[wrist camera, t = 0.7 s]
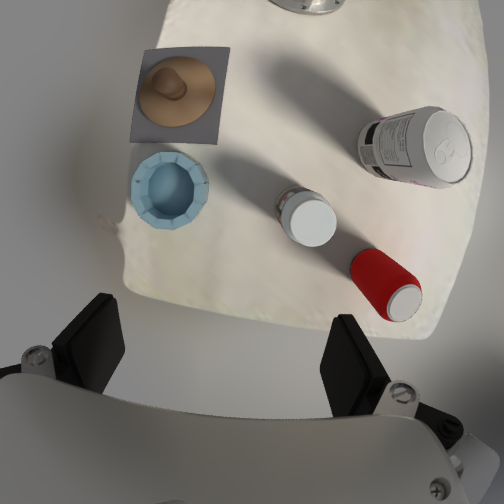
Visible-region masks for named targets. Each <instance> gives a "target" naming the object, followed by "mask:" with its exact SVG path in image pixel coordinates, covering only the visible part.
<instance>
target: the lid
mask: <svg viewBox="0 0 504 504" xmlns="http://www.w3.org/2000/svg"><path fill="white" fill-rule="evenodd" d="M215 90H216V86H215V80H214V77H213V75H212V73H211V71H210V69H209V68H208V67H207V66H206V65H205V64H204V63H203V62H201V61H199V60H197V59H194V58H191V57H175V58H171V59H168V60H166V61H163V62H161V63H160V64H158V65H157V66H156V67H154V68H153V69H152V70H151V71H150V72H149V73H148V75H147V76H146V78H145V79H144V81H143V83H142V86H141V89H140V96H139V98H140V105H141V108H142V110H143V112H144V114H145V115H146V116H147V117H148V118H149V119H150V120H151V121H153V122H154V123H156V124H159V125H161V126H165V127H172V128H174V127H182V126H186V125H188V124H191V123H193V122H195V121H196V120H198V119H199V118H200V117H202V116H203V115H204V114H205V113H206V111H207V110H208V109H209V107H210V106H211V104H212V102H213V99H214V96H215Z"/></svg>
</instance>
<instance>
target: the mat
mask: <svg viewBox="0 0 504 504" xmlns="http://www.w3.org/2000/svg"><path fill="white" fill-rule="evenodd" d="M229 53H230V47H178V48H163V49H152V50H145V52H144V56H143V61H142V65H141V70H140V75H139V80H138V86H137V91H136V97H135V104H134V111H133V118H132V126H131V135H130V143H134V142H167V143H196V144H214V145H217V140H218V132H219V123H220V115H221V107H222V100H223V93H224V85H225V78H226V72H227V65H228V59H229ZM175 57H191V58H194V59H197V60H199V61H201V62H203V63H204V64H205V65H206V66H207V67H208V68H209V69H210V71H211V73H212V75H213V77H214V80H215V86H216V90H215V96H214V99H213V102H212V104H211V106H210V107H209V109H208V110H207V111H206V113H205V114H204V115H203V116H202V117H200V118H199V119H198V120H196V121H195V122H193V123H191V124H188V125H186V126H182V127H174V128H172V127H165V126H161V125H159V124H156V123H154V122H153V121H151V120H150V119H149V118H148V117H147V116H146V115H145V114H144V112H143V110H142V108H141V105H140V98H139V96H140V89H141V86H142V83H143V81H144V79H145V78H146V76H147V75H148V73H149V72H150V71H151V70H152V69H153V68H154V67H156V66H157V65H158V64H160V63H161V62H163V61H166V60H168V59H171V58H175Z"/></svg>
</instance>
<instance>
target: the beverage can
mask: <svg viewBox="0 0 504 504" xmlns="http://www.w3.org/2000/svg"><path fill="white" fill-rule="evenodd" d="M350 274H351V278H352V280H353V282H354V283H355V285H356V286H357V287H358V288H359V290H360V291H361V292H362V293H363V295H364V296H365V297H366V298H367V300H368V301H369V302H370V303H371V305H372V306H373V307H374V308H375V310H376V311H377V312H378V314H379V315H380V316H381V317H382V318H384V319H385V320H388V321H392V322H402V321H405V320H407V319H409V318H411V317H412V316H413V315H414V314H415V313H416V312H417V310H418V309H419V307H420V304H421V301H422V291H421V286H420V283H419V281H418V280H417V278H416V277H415V276H414V275H412V274H411V273H410V272H408V271H407V270H406V269H405V268H403V267H402V266H401V265H399V264H398V263H397V262H395V261H394V260H393V259H391V258H390V257H389V256H387V255H386V254H385V253H383V252H382V251H380V250H378V249H366V250H364V251H362V252H360V253H359V254H358V255H357V256H356V257H355V258H354V260H353V261H352V264H351V268H350Z"/></svg>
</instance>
